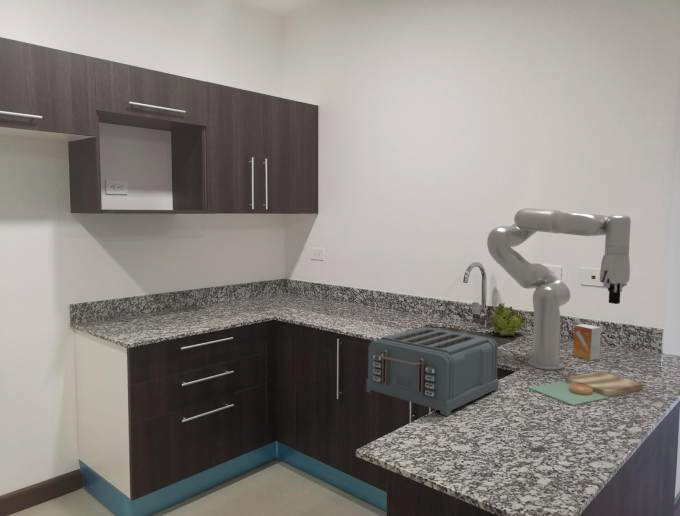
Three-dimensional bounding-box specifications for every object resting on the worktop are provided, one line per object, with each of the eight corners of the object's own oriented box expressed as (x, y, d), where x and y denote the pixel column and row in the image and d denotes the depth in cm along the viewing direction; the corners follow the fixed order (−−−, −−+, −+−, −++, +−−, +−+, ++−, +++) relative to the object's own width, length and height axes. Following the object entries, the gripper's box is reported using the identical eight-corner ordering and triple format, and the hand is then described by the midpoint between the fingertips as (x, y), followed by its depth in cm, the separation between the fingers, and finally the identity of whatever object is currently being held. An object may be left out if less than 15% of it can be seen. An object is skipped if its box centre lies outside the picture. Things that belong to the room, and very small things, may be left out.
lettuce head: (520, 342, 247) (522, 307, 246) (486, 338, 254) (487, 304, 253) (527, 334, 263) (528, 301, 262) (494, 331, 270) (495, 299, 269)
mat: (528, 388, 181) (528, 387, 181) (562, 382, 188) (562, 381, 188) (573, 405, 165) (573, 404, 165) (608, 398, 172) (608, 397, 172)
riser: (565, 383, 187) (565, 377, 187) (600, 376, 195) (601, 371, 195) (606, 397, 173) (606, 391, 173) (642, 389, 181) (643, 384, 181)
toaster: (356, 394, 174) (357, 339, 173) (421, 371, 200) (422, 323, 199) (438, 419, 153) (440, 357, 152) (498, 390, 179) (500, 337, 178)
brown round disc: (566, 391, 177) (566, 386, 176) (573, 386, 182) (573, 382, 182) (588, 396, 172) (589, 392, 172) (595, 391, 177) (595, 387, 177)
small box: (572, 356, 224) (573, 324, 222) (582, 354, 227) (583, 323, 226) (590, 360, 217) (592, 328, 216) (600, 358, 220) (601, 327, 219)
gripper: (621, 249, 196) (618, 300, 197) (592, 250, 189) (590, 303, 191) (640, 251, 189) (638, 303, 191) (611, 252, 182) (609, 306, 184)
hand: (614, 303), depth 191 cm, fingers closed
